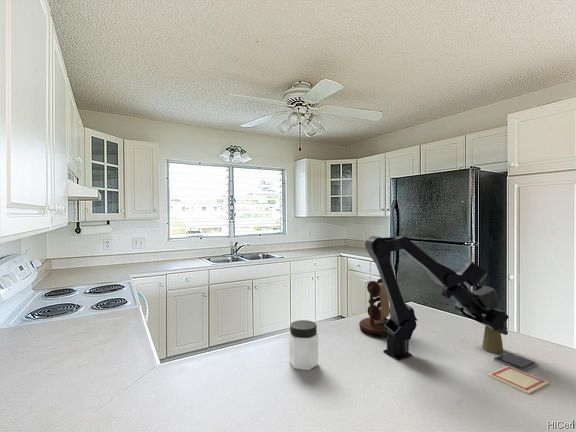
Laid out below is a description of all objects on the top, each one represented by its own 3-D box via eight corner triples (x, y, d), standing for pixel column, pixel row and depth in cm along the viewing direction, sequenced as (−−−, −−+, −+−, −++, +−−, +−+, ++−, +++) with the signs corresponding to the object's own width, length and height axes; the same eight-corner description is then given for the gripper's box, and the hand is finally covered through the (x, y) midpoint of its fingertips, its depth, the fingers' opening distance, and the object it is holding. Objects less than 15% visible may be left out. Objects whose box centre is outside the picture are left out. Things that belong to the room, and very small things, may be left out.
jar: (286, 358, 98) (286, 321, 97) (310, 355, 100) (310, 318, 100) (295, 372, 89) (295, 331, 89) (321, 368, 91) (321, 328, 91)
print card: (528, 394, 78) (528, 391, 78) (487, 375, 87) (487, 373, 87) (548, 383, 82) (548, 381, 82) (507, 367, 91) (507, 365, 91)
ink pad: (523, 371, 88) (523, 368, 88) (493, 360, 96) (493, 357, 96) (537, 365, 92) (537, 362, 92) (508, 354, 99) (508, 351, 99)
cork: (503, 355, 99) (503, 321, 99) (481, 350, 102) (481, 317, 102) (504, 348, 104) (504, 316, 103) (482, 344, 107) (482, 312, 107)
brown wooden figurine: (385, 341, 110) (385, 286, 110) (351, 330, 121) (351, 279, 121) (405, 331, 120) (405, 279, 120) (372, 321, 131) (372, 274, 131)
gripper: (502, 285, 93) (536, 320, 94) (462, 273, 112) (490, 302, 113) (478, 312, 92) (512, 347, 94) (441, 296, 111) (470, 325, 112)
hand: (495, 328), depth 103 cm, fingers open, 9 cm apart
